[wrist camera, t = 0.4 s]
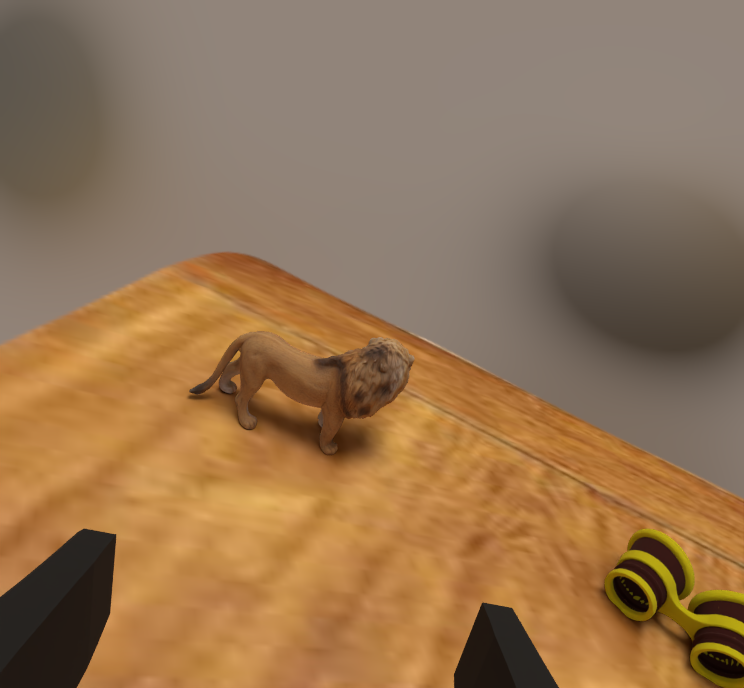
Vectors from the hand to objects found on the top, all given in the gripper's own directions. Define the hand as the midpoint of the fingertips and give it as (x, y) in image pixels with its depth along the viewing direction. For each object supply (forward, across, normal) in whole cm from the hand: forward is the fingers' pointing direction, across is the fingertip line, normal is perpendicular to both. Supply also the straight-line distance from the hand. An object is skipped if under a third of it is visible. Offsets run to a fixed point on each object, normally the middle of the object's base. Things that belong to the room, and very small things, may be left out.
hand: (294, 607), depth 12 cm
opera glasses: (+22, -26, +20) cm, 39 cm away
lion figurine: (+32, +2, +16) cm, 35 cm away
